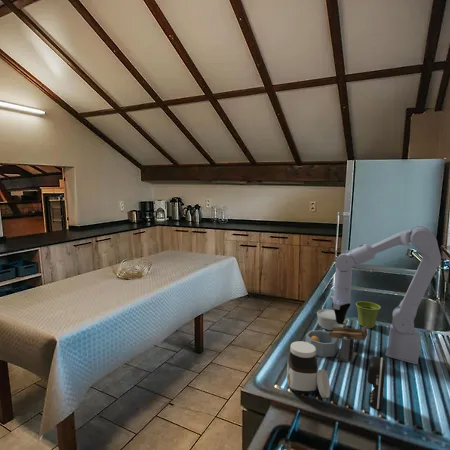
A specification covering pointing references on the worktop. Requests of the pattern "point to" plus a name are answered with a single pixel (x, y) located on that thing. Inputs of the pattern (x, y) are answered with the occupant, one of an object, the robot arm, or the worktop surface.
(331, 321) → the ramekin
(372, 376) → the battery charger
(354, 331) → the lever
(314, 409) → the worktop surface
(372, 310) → the plant pot
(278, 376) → the worktop surface
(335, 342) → the bowl
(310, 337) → the ball
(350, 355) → the fulcrum
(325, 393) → the spread jar
